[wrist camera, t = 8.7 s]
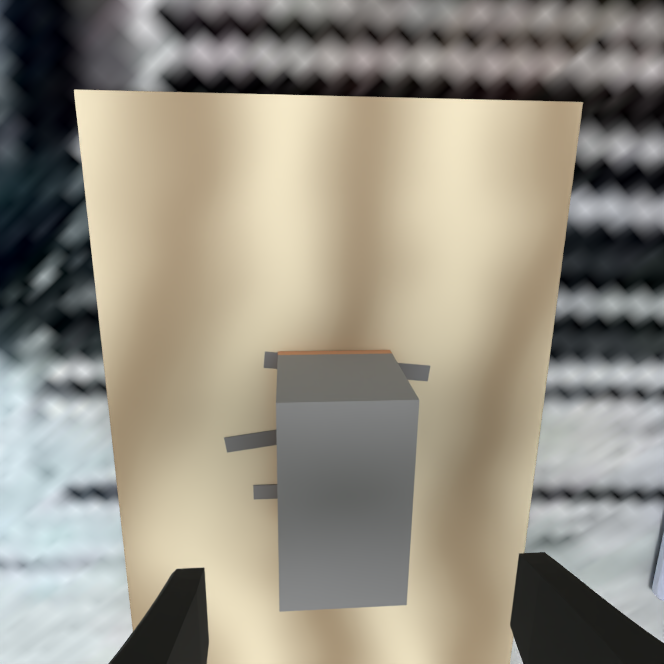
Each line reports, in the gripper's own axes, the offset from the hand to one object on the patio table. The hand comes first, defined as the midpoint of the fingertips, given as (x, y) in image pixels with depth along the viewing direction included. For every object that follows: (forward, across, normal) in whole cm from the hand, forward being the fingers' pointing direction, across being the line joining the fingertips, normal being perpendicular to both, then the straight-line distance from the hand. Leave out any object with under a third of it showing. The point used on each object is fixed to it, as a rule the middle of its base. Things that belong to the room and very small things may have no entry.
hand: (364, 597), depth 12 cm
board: (+10, 0, +2) cm, 10 cm away
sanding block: (+8, 0, 0) cm, 8 cm away
